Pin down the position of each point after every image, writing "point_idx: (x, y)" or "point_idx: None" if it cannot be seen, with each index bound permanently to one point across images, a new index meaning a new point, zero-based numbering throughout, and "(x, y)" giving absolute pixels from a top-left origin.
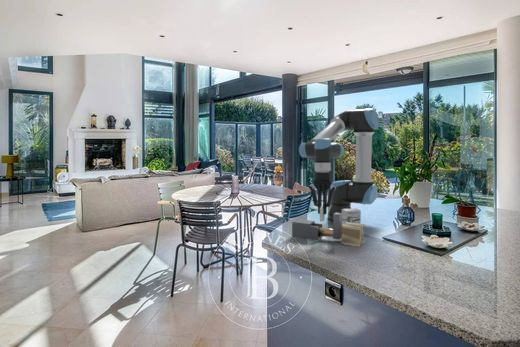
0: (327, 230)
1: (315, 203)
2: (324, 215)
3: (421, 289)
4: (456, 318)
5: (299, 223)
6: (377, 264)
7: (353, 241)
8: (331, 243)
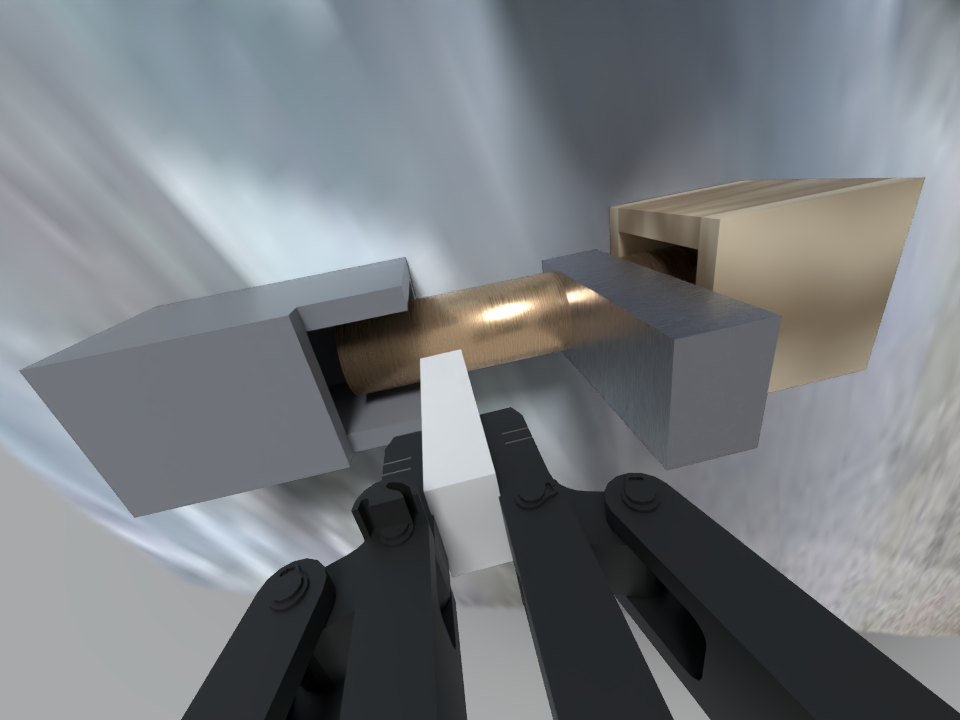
0: (511, 359)
1: (341, 696)
2: (469, 381)
3: (917, 561)
4: (943, 620)
5: (231, 490)
6: (816, 486)
7: None
8: (546, 365)
